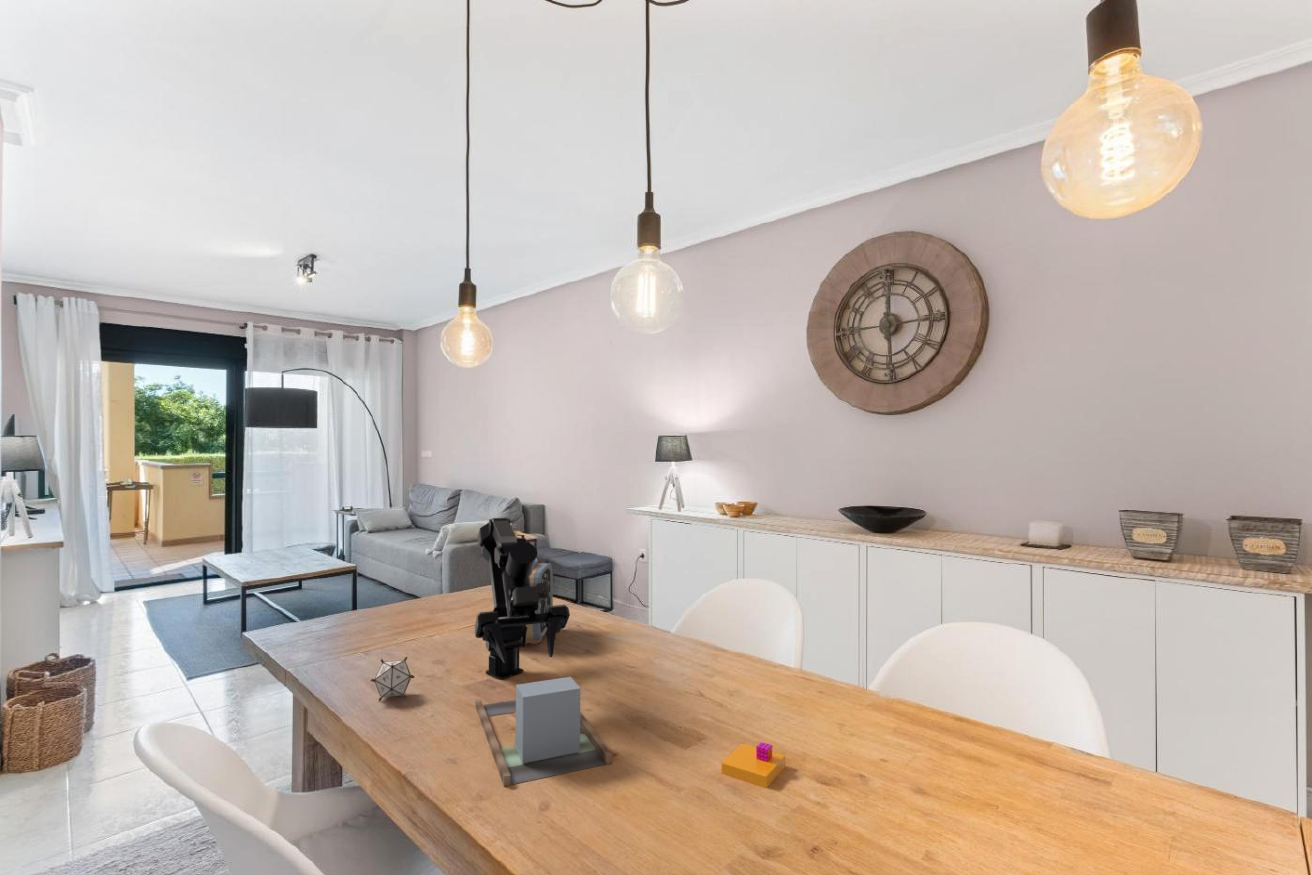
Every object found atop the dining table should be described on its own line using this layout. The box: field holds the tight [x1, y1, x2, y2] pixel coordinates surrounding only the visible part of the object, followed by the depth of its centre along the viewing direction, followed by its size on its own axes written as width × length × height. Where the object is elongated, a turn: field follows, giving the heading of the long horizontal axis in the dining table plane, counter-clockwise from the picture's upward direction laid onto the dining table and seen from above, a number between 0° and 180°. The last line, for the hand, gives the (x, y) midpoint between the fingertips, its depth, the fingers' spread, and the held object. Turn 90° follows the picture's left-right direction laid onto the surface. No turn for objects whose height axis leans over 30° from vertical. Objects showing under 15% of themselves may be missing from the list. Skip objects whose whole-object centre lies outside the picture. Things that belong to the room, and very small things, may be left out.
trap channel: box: [474, 697, 613, 787], centre depth 115 cm, size 33×18×2 cm, turn 24°
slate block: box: [515, 676, 581, 763], centre depth 108 cm, size 6×10×11 cm, turn 114°
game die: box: [369, 656, 416, 702], centre depth 131 cm, size 9×8×10 cm
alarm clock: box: [526, 557, 554, 644], centre depth 174 cm, size 21×10×22 cm, turn 179°
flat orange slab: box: [720, 741, 786, 789], centre depth 102 cm, size 8×8×4 cm
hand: (528, 659), depth 122 cm, fingers open, 9 cm apart
